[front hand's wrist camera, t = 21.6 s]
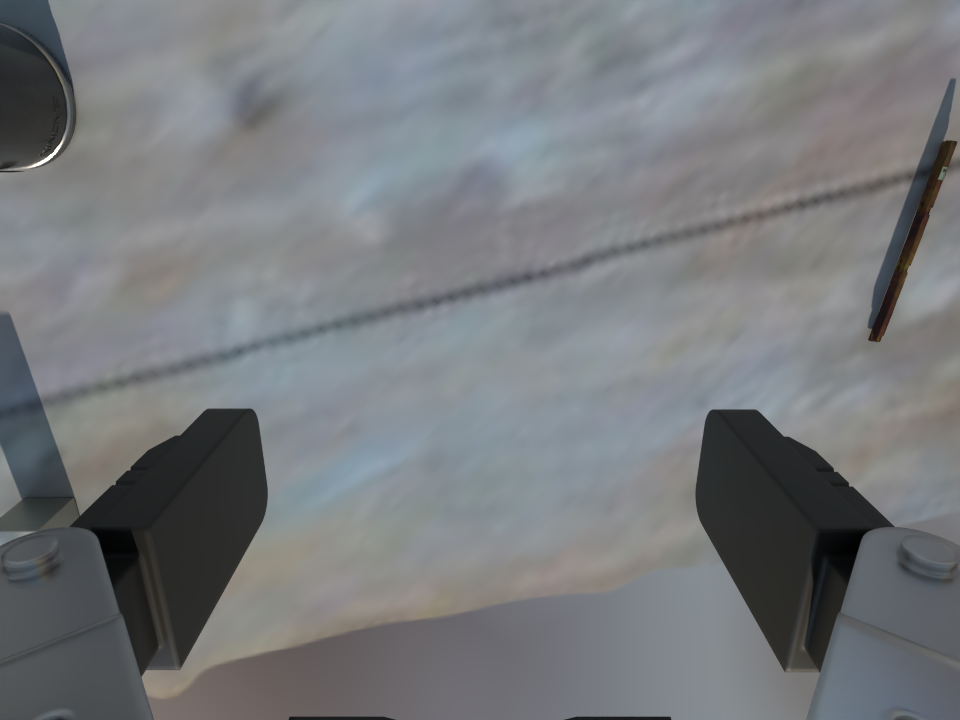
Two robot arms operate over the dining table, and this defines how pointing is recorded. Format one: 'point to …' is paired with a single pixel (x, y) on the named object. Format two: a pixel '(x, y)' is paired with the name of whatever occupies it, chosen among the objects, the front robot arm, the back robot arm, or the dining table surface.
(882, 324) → the brown thin stick
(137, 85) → the dining table surface
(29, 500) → the block
